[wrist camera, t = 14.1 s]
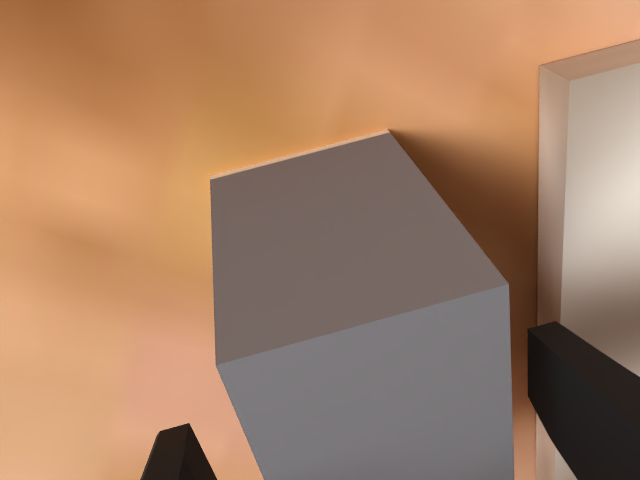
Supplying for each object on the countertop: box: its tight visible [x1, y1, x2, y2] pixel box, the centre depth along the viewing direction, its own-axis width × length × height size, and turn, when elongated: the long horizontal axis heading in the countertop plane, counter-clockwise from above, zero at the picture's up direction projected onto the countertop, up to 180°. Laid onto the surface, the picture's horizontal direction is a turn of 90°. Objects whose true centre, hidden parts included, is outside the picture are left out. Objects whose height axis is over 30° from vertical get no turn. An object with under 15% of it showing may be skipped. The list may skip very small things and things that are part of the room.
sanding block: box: [210, 129, 514, 480], centre depth 12 cm, size 9×4×6 cm, turn 12°
